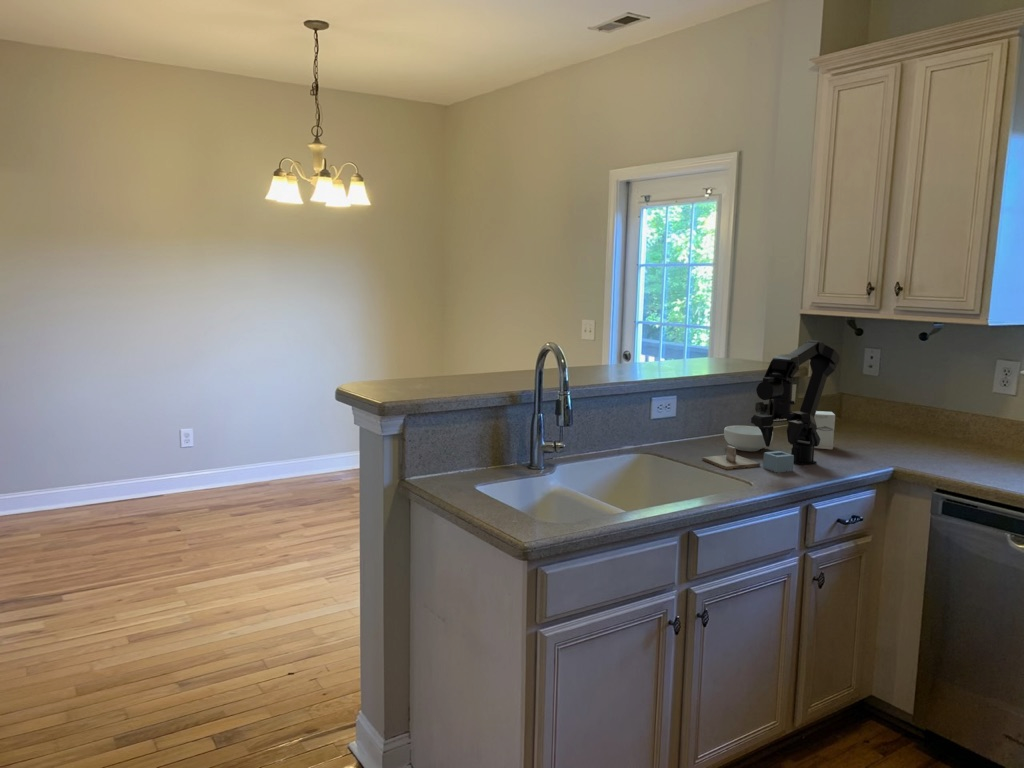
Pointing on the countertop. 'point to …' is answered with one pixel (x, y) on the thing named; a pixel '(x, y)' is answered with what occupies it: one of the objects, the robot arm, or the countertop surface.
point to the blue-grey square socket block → (778, 461)
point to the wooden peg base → (731, 460)
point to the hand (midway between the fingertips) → (779, 445)
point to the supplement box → (825, 429)
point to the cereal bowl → (745, 437)
